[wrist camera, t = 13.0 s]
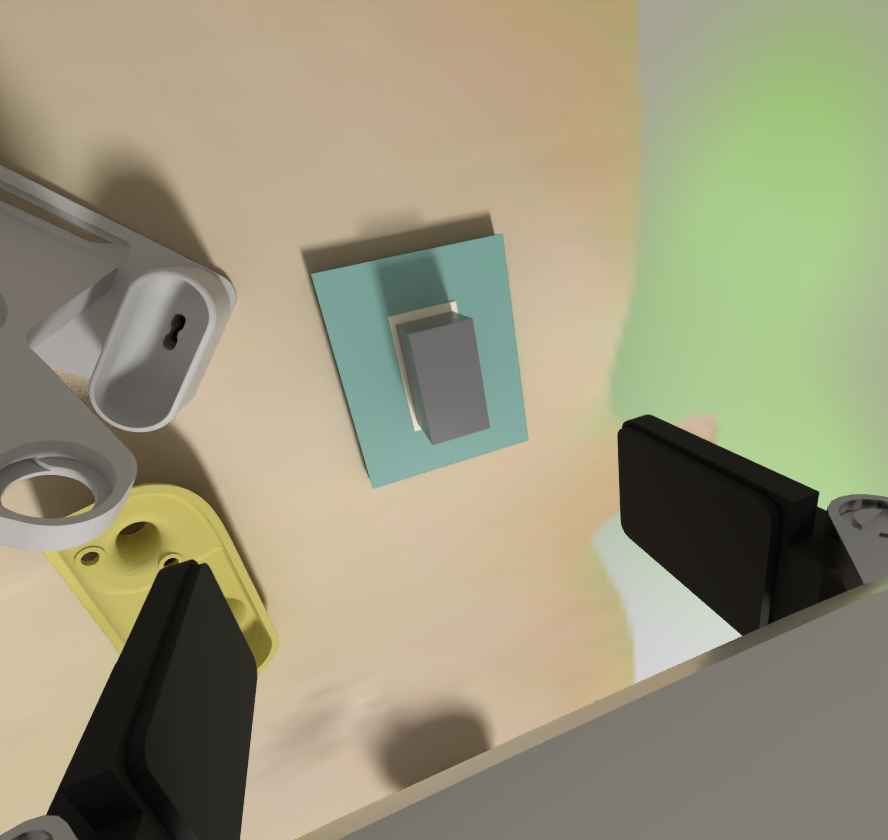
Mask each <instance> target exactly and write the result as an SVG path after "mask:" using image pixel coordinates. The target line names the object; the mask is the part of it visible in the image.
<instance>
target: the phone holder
mask: <svg viewBox="0 0 888 840" xmlns="http://www.w3.org/2000/svg"><path fill="white" fill-rule="evenodd" d="M0 188H2V189H4V190H6V191H8V192H10V193H12V194H14V195H16V196H18V197H20V198H22V199H24V200H26V201H28V202H30V203H32V204H34V205H36V206H38V207H40V208H42V209H44V210H46V211H48V212H50V213H52V214H54V215H56V216H58V217H60V218H62V219H64V220H66V221H68V222H70V223H72V224H74V225H76V226H78V227H80V228H82V229H84V230H86V231H88V232H90V233H92V234H94V235H96V236H98V237H100V238H102V239H104V240H106V241H108V242H110V243H100V242H90V241H87V240H85V239H83V238H81V237H79V236H77V235H75V234H72V233H70V232H68V231H66V230H64V229H62V228H59V227H57V226H55V225H53V224H51V223H49V222H46V221H44V220H42V219H40V218H38V217H36V216H33V215H31V214H29V213H27V212H25V211H23V210H20V209H18V208H16V207H14V206H12V205H10V204H7V203H5V202H3V201H1V200H0V545H3V546H8V547H12V548H17V549H22V550H27V551H42V552H46V551H58V550H64V549H69V548H73V547H77V546H80V545H82V544H85V543H87V542H89V541H92V540H93V539H95V538H97V537H98V536H100V535H101V534H103V533H104V532H105V531H106V530H107V529H108V528H109V527H110V526H111V525H112V524H113V522H114V521H115V520H116V518H117V516H118V515H119V513H120V511H121V510H122V508H123V507H124V505H125V504H126V502H127V500H128V497H129V494H130V491H131V489H132V486H133V483H134V480H135V478H136V474H137V469H138V468H137V462H136V459H135V457H134V455H133V454H132V453H131V451H130V450H129V449H128V448H127V447H126V446H125V445H124V444H123V443H122V442H121V441H120V440H119V439H118V438H117V437H116V436H115V435H114V434H113V433H112V431H111V430H110V429H109V428H108V427H107V426H106V425H105V424H104V423H103V422H102V421H101V420H100V419H99V418H98V417H97V416H96V415H95V414H94V413H93V412H92V411H91V410H90V409H89V408H88V407H87V406H86V404H85V403H84V402H83V401H82V400H81V399H80V398H79V397H78V396H77V395H76V394H75V393H74V392H73V391H72V390H71V389H70V388H69V387H68V386H67V385H66V384H65V383H64V382H63V381H62V380H61V378H60V377H59V376H58V375H57V374H56V373H55V372H54V371H53V370H52V369H51V368H50V367H49V366H48V365H51V366H53V367H56V368H59V369H62V370H64V371H67V372H70V373H72V374H75V375H78V376H81V377H83V378H86V379H89V380H90V381H89V386H88V393H89V398H90V401H91V404H92V406H93V408H94V409H95V411H96V412H97V413H98V414H99V416H100V417H102V418H103V419H104V420H105V421H106V422H108V423H109V424H111V425H113V426H115V427H117V428H120V429H122V430H126V431H131V432H148V431H153V430H156V429H159V428H161V427H163V426H165V425H166V424H168V423H169V422H170V421H172V420H173V418H174V417H175V416H176V415H177V414H178V412H179V411H180V410H181V409H182V407H184V406H186V405H187V404H189V403H190V402H191V400H192V399H193V398H194V396H195V394H196V392H197V389H198V387H199V385H200V383H201V380H202V378H203V376H204V374H205V371H206V369H207V367H208V365H209V363H210V360H211V358H212V356H213V354H214V351H215V349H216V347H217V345H218V342H219V340H220V338H221V336H222V333H223V331H224V329H225V327H226V325H227V322H228V320H229V318H230V316H231V313H232V311H233V309H234V307H235V304H236V301H237V294H236V290H235V288H234V286H233V284H232V283H231V282H230V281H229V280H228V279H227V278H226V277H224V276H222V275H220V274H218V273H216V272H214V271H212V270H210V269H208V268H206V267H204V266H202V265H200V264H198V263H196V262H194V261H192V260H190V259H188V258H186V257H184V256H182V255H180V254H178V253H176V252H174V251H172V250H170V249H168V248H166V247H164V246H162V245H160V244H158V243H156V242H154V241H152V240H150V239H148V238H146V237H144V236H142V235H140V234H138V233H136V232H134V231H132V230H130V229H128V228H126V227H124V226H122V225H120V224H118V223H116V222H114V221H112V220H110V219H108V218H106V217H104V216H102V215H100V214H98V213H96V212H94V211H92V210H90V209H88V208H86V207H84V206H82V205H80V204H78V203H76V202H74V201H72V200H70V199H68V198H66V197H64V196H62V195H60V194H58V193H56V192H54V191H52V190H50V189H48V188H46V187H44V186H42V185H40V184H38V183H36V182H34V181H32V180H30V179H28V178H26V177H24V176H22V175H20V174H18V173H16V172H14V171H12V170H10V169H8V168H6V167H5V166H3V165H1V164H0ZM182 315H183V316H184V317H185V319H186V323H185V325H184V328H183V329H182V330H180V331H179V333H178V335H177V339H178V341H177V343H175V342H174V341H173V339H172V337H173V335H174V333H175V331H176V329H178V328H179V327H180V325H181V323H182V322H181V317H182ZM47 364H48V365H47ZM41 475H60V476H66V477H70V478H73V479H76V480H78V481H80V482H82V483H83V484H85V485H86V486H87V487H88V488H89V489H90V490H91V491H92V493H93V495H94V498H95V505H94V507H93V508H92V509H91V510H90V511H87V512H85V513H82V514H79V515H75V516H70V517H64V518H35V517H30V516H25V515H21V514H18V513H15V512H13V511H10V510H8V509H6V508H4V507H3V506H2V504H1V497H2V496H3V494H4V493H5V491H6V490H7V489H8V488H10V487H11V486H12V485H14V484H16V483H17V482H20V481H22V480H24V479H27V478H31V477H35V476H41Z"/></svg>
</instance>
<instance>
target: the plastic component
mask: <svg viewBox="0 0 888 840" xmlns="http://www.w3.org/2000/svg"><path fill="white" fill-rule="evenodd" d="M94 505H95V503H93V504H91V505H89V506H87V507H85V508H83V509H81V510H79V511H77V512H75V513H73V514H70V515H68V516H66V517H70V516H75V515H79V514H82V513H85V512H87V511H90V510H91V509H92V508H93V507H94ZM141 521H146V524H145V525H144V526H143V527H142V528H141V529H140V530H138V531H137V532H134V533H132V534H127V535H122V534H119V532H120V531H121V530H122V529H124V528H125V527H126V526H128V525H130V524H132V523H136V522H141ZM88 552H97V553H98V556H97V557H96V558H95V559H93V560H90V561H84V560H83V559H82V556H83V555H84V554H86V553H88ZM42 553H43V554H44V555H45V556H46V558H47V559H48V560H49V561H50V563H51V564H52V565H53V566H54V568H55V569H56V570H57V572H58V573H59V574H60V576H61V577H62V578H63V579H64V581H65V582H66V583H67V585H68V586H69V587H70V589H71V590H72V591H73V593H74V594H75V595H76V596H77V598H78V599H79V600H80V602H81V603H82V604H83V606H84V607H85V608H86V610H87V611H88V612H89V614H90V615H91V616H92V618H93V619H94V620H95V622H96V623H97V624H98V626H99V627H100V628H101V630H102V631H103V632H104V634H105V635H106V636H107V638H108V639H109V640H110V642H111V643H112V644H113V646H114V647H115V648H116V650H117V651H118V652H119V654H121V652H122V650H123V648H124V646H125V643H126V641H127V639H128V637H129V635H130V632H131V630H132V628H133V626H134V624H135V622H136V619H137V617H138V615H139V613H140V611H141V608H142V606H143V604H144V602H145V600H146V597H147V595H148V593H149V591H150V589H151V587H152V584H153V582H154V580H155V578H156V576H157V573H158V572H159V570H160V569H162V568H165V567H168V566H172V565H175V564H178V563H181V562H184V561H187V560H190V559H193V560H195V561H197V562H198V564H202V563H207V564H208V565H209V567H210V568H211V570H212V572H213V574H214V576H215V578H216V580H217V582H218V584H219V586H220V588H221V590H222V592H223V595H224V597H225V599H226V601H227V603H228V605H229V607H230V609H231V611H232V613H233V615H234V617H235V619H236V621H237V623H238V625H239V627H240V629H241V631H242V633H243V635H244V637H245V639H246V641H247V643H248V645H249V647H250V649H251V651H252V653H253V655H254V658H255V661H256V665H257V675H258V674H259V673H260V672H262V671H263V670H264V669H265V668H266V667H267V666H268V665H269V663H270V662H271V661H272V659H273V658H274V656H275V654H276V652H277V648H278V645H279V638H278V634H277V632H276V630H275V628H274V626H273V624H272V621H271V619H270V617H269V615H268V613H267V611H266V609H265V607H264V605H263V603H262V601H261V599H260V597H259V595H258V593H257V591H256V589H255V587H254V585H253V583H252V581H251V579H250V577H249V575H248V573H247V571H246V568H245V566H244V564H243V562H242V560H241V558H240V556H239V554H238V552H237V550H236V548H235V546H234V544H233V542H232V540H231V538H230V536H229V534H228V533H227V531H226V529H225V527H224V525H223V523H222V522H221V520H220V519H219V517H218V515H217V514H216V513H215V511H214V510H213V509H212V508H211V506H210V505H209V504H208V503H207V502H206V501H205V500H204V499H202V498H201V497H200V496H198V495H197V494H195V493H193V492H192V491H190V490H188V489H186V488H183V487H180V486H177V485H173V484H165V483H147V484H140V485H136V486H132V489H131V491H130V494H129V497H128V500H127V502H126V504H125V505H124V507H123V508H122V510H121V511H120V513H119V515H118V516H117V518H116V520H115V521H114V522H113V524H112V525H111V526H110V527H109V528H108V529H107V530H106V531H105V532H104V533H103V534H101V535H100V536H98V537H97V538H95V539H93V540H92V541H89V542H87V543H85V544H82V545H80V546H77V547H73V548H69V549H64V550H58V551H46V552H42ZM170 558H176V560H175V561H173V562H171V563H169V564H168V565H166V566H164V563H165V562H166V560H168V559H170Z"/></svg>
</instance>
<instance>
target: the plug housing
mask: <svg viewBox="0 0 888 840" xmlns="http://www.w3.org/2000/svg"><path fill="white" fill-rule="evenodd" d="M396 329H397V334H398V338H399V342H400V347H401V351H402V356H403V360H404V364H405V369H406V373H407V378H408V382H409V386H410V391H411V395H412V399H413V404H414V408H415V413H416V417H417V421H418V425H419V426H420V427H421V429H422V430H423V432H424V433H425V435H426V436H427V438H428V439H429V441H430V442H431V444H432V445H436V444H439V443H442V442H446V441H449V440H452V439H456V438H459V437H462V436H466V435H469V434H472V433H476V432H479V431H482V430H486V429H489V428H490V423H489V417H488V411H487V404H486V398H485V392H484V386H483V379H482V373H481V367H480V361H479V354H478V348H477V342H476V336H475V329H474V323H473V319H472V318H470V317H467V316H464V315H462V314H459V313H456V312H454V311H450V312H446V313H442V314H438V315H434V316H430V317H426V318H421V319H417V320H413V321H409V322H405V323H401V324H397V325H396Z"/></svg>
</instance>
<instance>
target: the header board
mask: <svg viewBox="0 0 888 840" xmlns="http://www.w3.org/2000/svg"><path fill="white" fill-rule="evenodd" d="M311 276H312V280H313V283H314V287H315V290H316V294H317V297H318V301H319V304H320V308H321V311H322V315H323V318H324V321H325V325H326V328H327V332H328V335H329V339H330V342H331V346H332V349H333V353H334V356H335V360H336V363H337V367H338V370H339V373H340V377H341V380H342V384H343V387H344V391H345V394H346V398H347V401H348V405H349V408H350V412H351V415H352V419H353V422H354V425H355V429H356V432H357V436H358V439H359V443H360V446H361V450H362V453H363V457H364V460H365V464H366V467H367V471H368V474H369V477H370V481H371V484H372V488H373V489H374V488H378V487H381V486H384V485H387V484H390V483H394V482H397V481H400V480H403V479H406V478H410V477H413V476H416V475H419V474H422V473H426V472H429V471H432V470H435V469H438V468H442V467H445V466H448V465H451V464H454V463H458V462H461V461H464V460H467V459H470V458H474V457H477V456H480V455H483V454H486V453H490V452H493V451H496V450H499V449H502V448H506V447H509V446H512V445H515V444H518V443H522V442H525V441H528V432H527V424H526V416H525V408H524V400H523V392H522V384H521V376H520V368H519V360H518V352H517V344H516V336H515V328H514V320H513V312H512V304H511V296H510V288H509V280H508V272H507V264H506V256H505V248H504V240H503V234H496V235H491V236H486V237H481V238H476V239H472V240H467V241H462V242H457V243H453V244H448V245H443V246H438V247H434V248H429V249H424V250H419V251H415V252H410V253H405V254H400V255H396V256H391V257H386V258H381V259H377V260H372V261H367V262H362V263H358V264H353V265H348V266H343V267H339V268H334V269H329V270H324V271H320V272H315V273H311ZM450 311H454V312H456V313H459V314H462V315H464V316H467V317H470V318H472V319H473V323H474V329H475V336H476V342H477V348H478V354H479V361H480V367H481V373H482V379H483V386H484V392H485V398H486V404H487V411H488V417H489V423H490V428H489V429H486V430H482V431H479V432H476V433H472V434H469V435H466V436H462V437H459V438H456V439H452V440H449V441H446V442H442V443H439V444H436V445H432V444H431V442H430V441H429V439H428V438H427V436H426V435H425V433H424V432H423V430H422V429H421V427H420V426H419V425H418V421H417V417H416V413H415V408H414V404H413V399H412V395H411V391H410V386H409V382H408V378H407V373H406V369H405V364H404V360H403V356H402V351H401V347H400V342H399V338H398V334H397V329H396V325H397V324H401V323H405V322H409V321H413V320H417V319H421V318H426V317H430V316H434V315H438V314H442V313H446V312H450Z"/></svg>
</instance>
